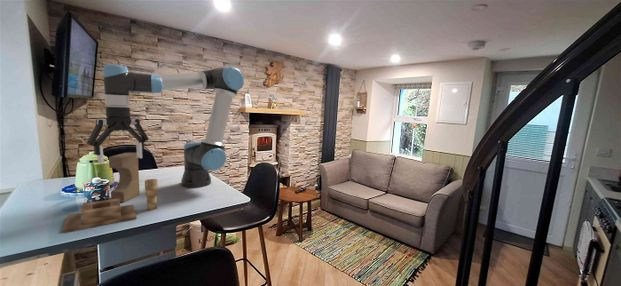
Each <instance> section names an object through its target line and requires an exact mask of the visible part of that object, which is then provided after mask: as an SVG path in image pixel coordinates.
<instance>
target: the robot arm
mask: <svg viewBox="0 0 621 286" xmlns="http://www.w3.org/2000/svg"><path fill="white" fill-rule="evenodd" d="M102 71H103V72H102V73H103V74H102V78H103V86H104V88H103V89H104V101H105V102H104V103H105V106H106V107H105V117H106V118H105V119H99V118H98V119H96V120H95V126H94V127H93V130H92V132H91V134H90V136H89V137H88V140H87V142H86V145H89V146H92V147H93V152H94V155H95V156H97V163H98V164H100V165H104V164H105V161H104V159H105V157H104V148H103V146H102V144H103V143H104V142H105V140H106V139H107V138H108V137H109V136H110V135H111V133H113V132H115V131H116V132H117V131H118V132H120V131H127V132H128V134H130V135H131V136H132V137H133V138H134V139H135V140H136V143H135V147H136V153H137V158H138V159H143V150H145V143H146V141H149V136H148V135H147V134H146V132H145V130H144V128H143V127H142V125H141V123H140V119H139V118H133V119H132V118H131V108H130V105H131V102H130V94H139V93H142V94H143V93H144V94H145V93H147V94H161V93H162V92H163V91H172V90H175V91H176V90H186V89H187V90H189V89H201V90H213V91H214V92H215V96H214V100H213V105H212V110H211V113H210V116H209V117H210V118H209V120H208V121H209V122H208V125H207V129H206V134H205V138H204V139H202V140H201V141H198V142H197V141H195V142H186V143H184V145H183V159H184V161H183V163H184V169H183V170H184V172H183V174H182V178H181V180H180V182H181V183H180V185H181V186H182V187H185V188H201V187H206V186H208V185H210V184H212V177H211V175H210V171H213V172H215V171H219V169H221V168H223V167H224V165H225V163H226V161H227V154H226V152H225V147H226V146H225V145H224V143H223V141H224V137H225V133H226V128H227V124H228V119H229V115H230V111H231V107H232V105H233V104H232V103H233V99H234V98H236V97H237V96H238V92H239V90H241V89H242V88H243V86H244V84H245V78H244V75H243V73H242V72H241V70H240V69H238V68H237V67H235V66H225V67H216V68H212V69H206V70H199V71H197V72H192V73H189V72H187V73H185V72H184V73H166V74H165V73H164V74H163V73H162V74H161V73H160V74H152V73H151V74H148V73H138V72H131V71H129V69H128V67H127V66H125V65H121V64H105V65H103V69H102ZM131 124H132V125H134V127H135V130H134V128H133V127H132V126H131ZM105 125H107V127H106V128H105V129H104V131H103V132H102V129H103V126H105ZM136 131H137V132H136ZM101 132H102V133H101ZM100 133H101V134H100Z"/></svg>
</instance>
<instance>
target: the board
mask: <svg viewBox="0 0 621 286" xmlns="http://www.w3.org/2000/svg"><path fill="white" fill-rule="evenodd" d="M65 219H66V220H65V222H64V224H63V228H62V233H63V234H64V233H68V232H75V231H79V230H86V229H91V228H96V227H100V226H107V225H110V224H111V225H113V224H117V223H122V222H126V221H127V222H128V221H132V220H137V214H136V210H135V206H134V204H129V205H123V206H122V205H121V202H120V198H118V199H105V200H98V201H90V202H84V203H82V206H81V210H80V212H78V213H71V214H67V216H66V218H65Z"/></svg>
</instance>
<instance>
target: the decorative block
mask: <svg viewBox="0 0 621 286" xmlns="http://www.w3.org/2000/svg"><path fill="white" fill-rule="evenodd" d="M108 167H109V169H114V170H116V171H117V172H118V174H119V175H118V176H119V181H118V183H117V185H116V186H115V188H114V189H113V190H110V198H111V199H118V198H120V203H121V204H123V203H125V202H127V201H129V200H130V199H133V198H135V197H137V196H139V195H140V175H139V173H140V172H139V158H137V152H123V153H119V154H115V155H112V156H109V157H108ZM111 199H110V200H111Z"/></svg>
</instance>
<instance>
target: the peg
mask: <svg viewBox="0 0 621 286" xmlns="http://www.w3.org/2000/svg"><path fill="white" fill-rule="evenodd" d="M158 188H159V187H158V179H157V178H149V179H145V180H144V196H145V197H146V207H147V208H146V209H147V210H148V211H154V210H157V209H158V203H157V202H158V200H157V199H158V198H157V196H158V194H159V191H158V190H159V189H158Z"/></svg>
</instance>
